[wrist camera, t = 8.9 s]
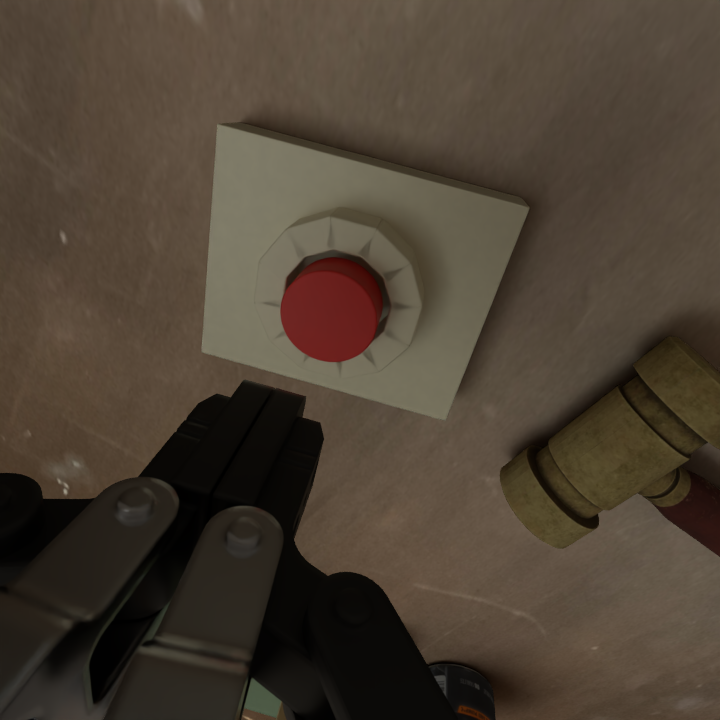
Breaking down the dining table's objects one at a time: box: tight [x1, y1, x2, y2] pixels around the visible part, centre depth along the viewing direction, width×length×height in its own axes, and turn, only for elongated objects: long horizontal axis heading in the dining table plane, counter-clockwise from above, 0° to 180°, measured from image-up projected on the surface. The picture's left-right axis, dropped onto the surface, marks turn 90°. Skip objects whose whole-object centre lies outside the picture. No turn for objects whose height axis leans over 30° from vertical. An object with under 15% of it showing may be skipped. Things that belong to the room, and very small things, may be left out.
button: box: [280, 257, 383, 362], centre depth 18 cm, size 4×4×2 cm
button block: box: [202, 122, 530, 421], centre depth 20 cm, size 12×10×4 cm
